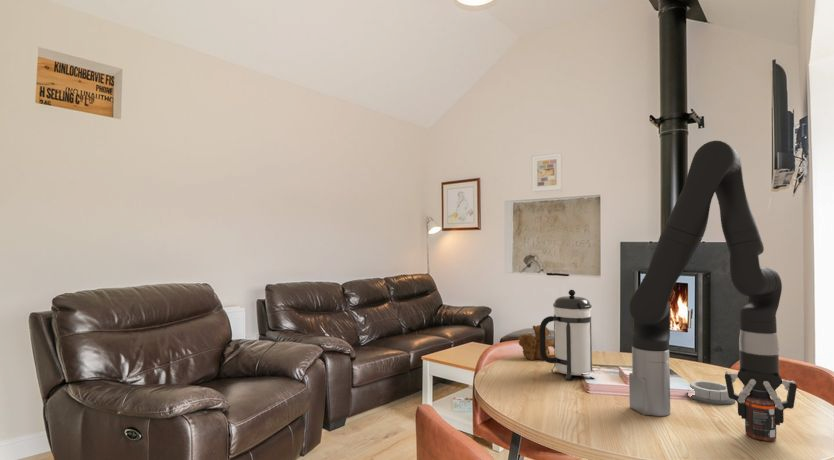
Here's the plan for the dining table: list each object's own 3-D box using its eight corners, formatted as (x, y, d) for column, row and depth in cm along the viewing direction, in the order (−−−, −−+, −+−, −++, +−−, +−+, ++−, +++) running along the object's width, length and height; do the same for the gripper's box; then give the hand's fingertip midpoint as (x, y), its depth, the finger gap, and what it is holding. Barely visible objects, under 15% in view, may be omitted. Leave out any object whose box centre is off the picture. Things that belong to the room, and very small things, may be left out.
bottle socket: (708, 406, 128) (708, 393, 128) (678, 392, 140) (677, 381, 140) (745, 403, 130) (745, 391, 130) (712, 390, 142) (712, 378, 142)
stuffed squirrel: (559, 360, 179) (559, 327, 179) (527, 362, 175) (526, 328, 176) (546, 354, 189) (545, 322, 189) (515, 356, 185) (515, 324, 185)
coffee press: (556, 366, 169) (555, 286, 170) (600, 373, 160) (599, 289, 161) (539, 378, 155) (538, 290, 156) (587, 386, 146) (585, 293, 147)
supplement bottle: (782, 443, 104) (781, 393, 104) (753, 441, 105) (752, 392, 106) (767, 432, 110) (766, 385, 110) (740, 430, 111) (739, 384, 111)
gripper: (721, 349, 109) (723, 419, 109) (799, 357, 101) (801, 433, 100) (722, 343, 115) (724, 409, 115) (796, 351, 107) (798, 422, 106)
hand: (760, 420), depth 108 cm, fingers closed on supplement bottle, 6 cm apart
